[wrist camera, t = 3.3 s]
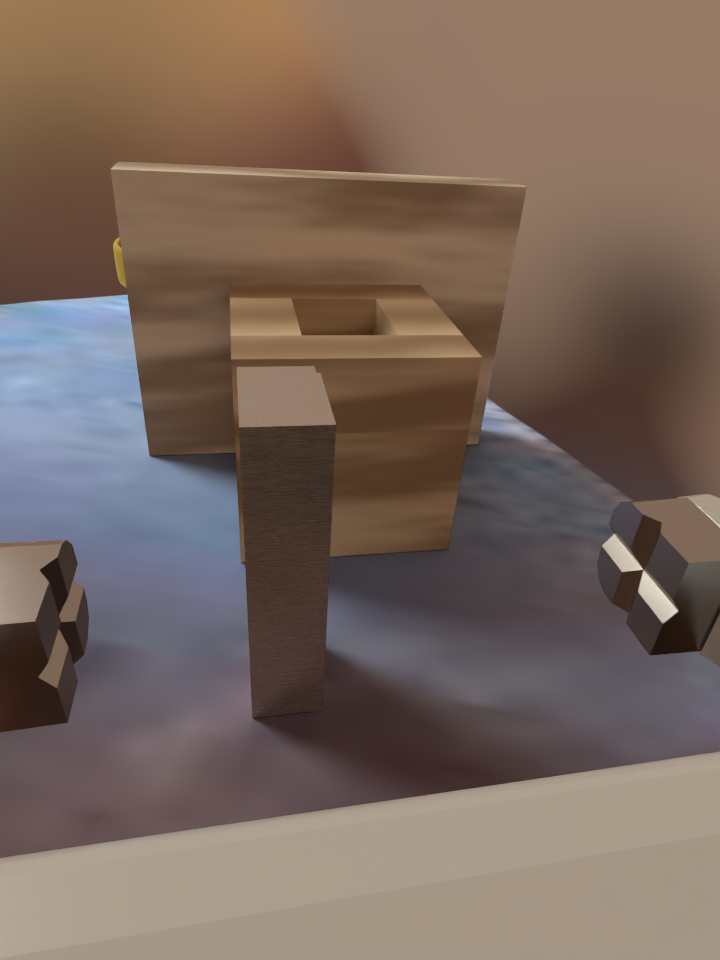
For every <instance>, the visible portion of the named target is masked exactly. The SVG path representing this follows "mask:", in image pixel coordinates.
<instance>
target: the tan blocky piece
mask: <svg viewBox="0 0 720 960" xmlns="http://www.w3.org/2000/svg"><path fill="white" fill-rule="evenodd" d="M111 176H112V183H113V190H114V198H115V204H116V212H117V220H118V227H119V235H120V242H121V249H122V257H123V264H124V271H125V279H126V286H127V293H128V301H129V308H130V315H131V323H132V330H133V337H134V345H135V352H136V360H137V367H138V374H139V382H140V389H141V396H142V404H143V411H144V418H145V426H146V433H147V440H148V448H149V455H150V456H153V455H182V454H211V453H236V468H237V488H238V508H239V528H240V548H241V563H243V562H245V546H244V524H243V503H242V481H241V460H240V439H239V415H238V389H237V367H280V366H315V370H316V373H321V376H322V380H323V383H324V386H325V390H326V393H327V396H328V399H329V403H330V406H331V409H332V413H333V416H334V419H335V422H336V439H335V460H334V481H333V502H332V523H331V544H330V557H335V556H350V555H365V554H381V553H396V552H411V551H427V550H442V549H448V547H449V542H450V536H451V530H452V525H453V519H454V514H455V508H456V502H457V497H458V491H459V485H460V480H461V474H462V469H463V463H464V457H465V452H466V446H467V445H470V444H478V442H479V437H480V432H481V426H482V421H483V416H484V410H485V405H486V400H487V395H488V389H489V384H490V379H491V373H492V368H493V362H494V358H495V352H496V347H497V341H498V336H499V331H500V325H501V321H502V315H503V310H504V305H505V299H506V294H507V289H508V284H509V278H510V273H511V267H512V262H513V257H514V251H515V247H516V241H517V236H518V231H519V225H520V220H521V214H522V209H523V204H524V199H525V194H526V187H525V186H523V185H521V184H518V183H516V182H513V181H511V180H509V179H489V178H466V177H445V176H423V175H401V174H379V173H357V172H335V171H313V170H290V169H269V168H247V167H224V166H223V167H222V166H202V165H177V164H158V163H136V162H117V164H115V165H114V166H113V167H112V168H111Z"/></svg>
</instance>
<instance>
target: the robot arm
mask: <svg viewBox="0 0 720 960" xmlns="http://www.w3.org/2000/svg"><path fill="white" fill-rule="evenodd" d="M609 524H610V526H611V528H612V530H613V532H614V535H613V536H612V537H611V538H610V539H609V540H608V541H606V542H605V543H604V544H603V545H602V548H601V551H600V555H599V559H598V562H597V563H598V575H599V581H600V583H601V586H602V588H603V591H604V593H605V594H606V595H607V597H608V598H609V600H610V601H611V603H613V604H615V605H616V606H618V607H620V608H622V609H623V610H625V611H627V612H628V615H627V622H626V624H627V625H628V626H629V628H630V629H631V630H632V632H633V633H634V635H635V636H636V637H637V639H638V640H639V641H640V643H641V644H642V646H643V647H644V648H645V650H646V651H647V652H648V654H649V655H661V654H672V653H684V652H696V651H701V653H700V654H701V655H703V656H704V657H706V658H707V659H709V660H710V661H712V662H713V663H714V664H716V665H717V666H719V667H720V498H718V497H715V496H712V495H709V494H704V495H693V496H684V497H678V498H672V499H658V500H646V501H631V502H620V503H619V505H618V506H617V507H616V508H615V509H614V511H613V514H612V517H611V520H610V523H609ZM77 564H78V563H77V560H76V556H75V553H74V549H73V546H72V544H71V543H70V542H69V541H67V540H55V541H35V542H14V543H0V732H7V731H14V730H21V729H28V728H35V727H42V726H49V725H56V724H63V723H68V720H69V716H70V711H71V707H72V703H73V699H74V695H75V691H76V687H77V683H78V680H77V676H76V672H75V669H74V664H75V663H76V662H77V661H78V660H79V659H80V658H81V657H82V656H84V653H85V649H86V644H87V639H88V623H89V615H88V606H87V599H86V595H85V591H84V588H83V587H82V586H80V585H79V584H78V583H76V582H75V581H74V580H73V578H74V575H75V571H76V568H77ZM0 960H720V752H714V753H707V754H701V755H694V756H687V757H681V758H674V759H667V760H661V761H654V762H647V763H640V764H634V765H627V766H620V767H614V768H607V769H600V770H594V771H587V772H580V773H573V774H567V775H560V776H553V777H546V778H540V779H533V780H526V781H519V782H512V783H506V784H499V785H492V786H485V787H478V788H472V789H465V790H458V791H451V792H444V793H438V794H431V795H424V796H417V797H410V798H404V799H397V800H390V801H383V802H376V803H370V804H363V805H356V806H349V807H342V808H336V809H329V810H322V811H315V812H309V813H302V814H295V815H288V816H282V817H275V818H268V819H261V820H254V821H248V822H241V823H234V824H227V825H221V826H214V827H207V828H200V829H194V830H187V831H180V832H173V833H167V834H160V835H153V836H146V837H140V838H133V839H126V840H119V841H113V842H106V843H99V844H92V845H85V846H79V847H72V848H65V849H58V850H52V851H45V852H38V853H31V854H25V855H18V856H11V857H4V858H0Z"/></svg>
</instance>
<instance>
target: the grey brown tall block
mask: <svg viewBox="0 0 720 960" xmlns="http://www.w3.org/2000/svg"><path fill="white" fill-rule="evenodd" d="M237 389H238V415H239V439H240V460H241V481H242V503H243V524H244V546H245V567H246V589H247V610H248V632H249V653H250V675H251V696H252V718H257V717H267V716H276V715H285V714H294V713H303V712H312V711H321V710H323V692H324V671H325V650H326V629H327V607H328V586H329V565H330V544H331V523H332V502H333V481H334V460H335V439H336V422H335V419H334V416H333V413H332V409H331V406H330V403H329V399H328V396H327V393H326V390H325V386H324V383H323V380H322V376H321V373H316V370H315V366H280V367H237Z"/></svg>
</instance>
